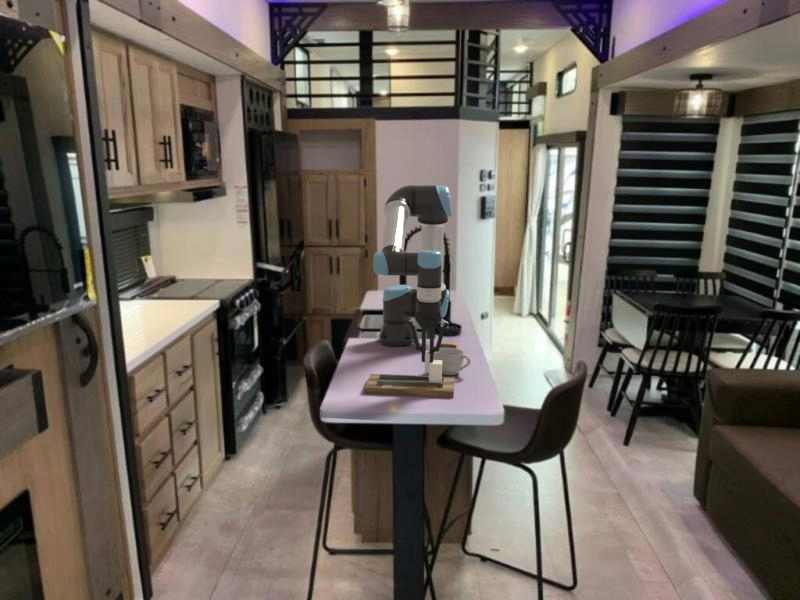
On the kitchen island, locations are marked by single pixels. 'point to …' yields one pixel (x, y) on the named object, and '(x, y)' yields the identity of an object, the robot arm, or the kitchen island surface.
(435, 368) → the switch knob
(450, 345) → the multimeter
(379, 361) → the kitchen island surface
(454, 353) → the teacup
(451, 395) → the wooden slider track
